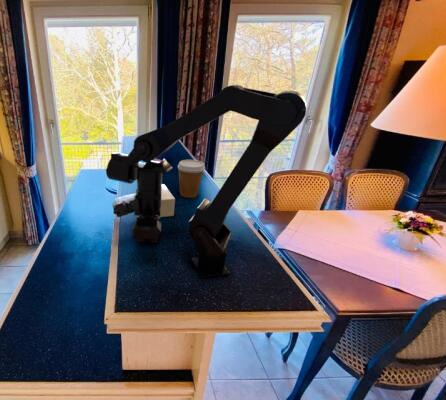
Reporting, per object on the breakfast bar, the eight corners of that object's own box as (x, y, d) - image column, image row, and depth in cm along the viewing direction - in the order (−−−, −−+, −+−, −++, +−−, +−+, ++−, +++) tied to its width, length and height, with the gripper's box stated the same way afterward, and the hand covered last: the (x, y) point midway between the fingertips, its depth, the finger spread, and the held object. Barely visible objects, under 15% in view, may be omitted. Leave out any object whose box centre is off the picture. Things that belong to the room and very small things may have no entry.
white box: (173, 215, 83) (175, 192, 80) (143, 218, 82) (144, 195, 78) (162, 198, 95) (163, 177, 92) (135, 200, 94) (135, 179, 90)
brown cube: (156, 243, 70) (157, 226, 68) (137, 241, 71) (138, 225, 68) (157, 232, 75) (158, 217, 72) (139, 231, 75) (139, 216, 73)
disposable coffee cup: (202, 200, 93) (206, 168, 88) (174, 198, 95) (177, 166, 90) (201, 190, 101) (204, 160, 96) (175, 188, 103) (178, 158, 98)
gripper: (120, 172, 71) (120, 223, 77) (108, 202, 54) (110, 264, 60) (162, 174, 69) (159, 225, 76) (163, 205, 53) (159, 267, 59)
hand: (147, 243), depth 68 cm, fingers closed
